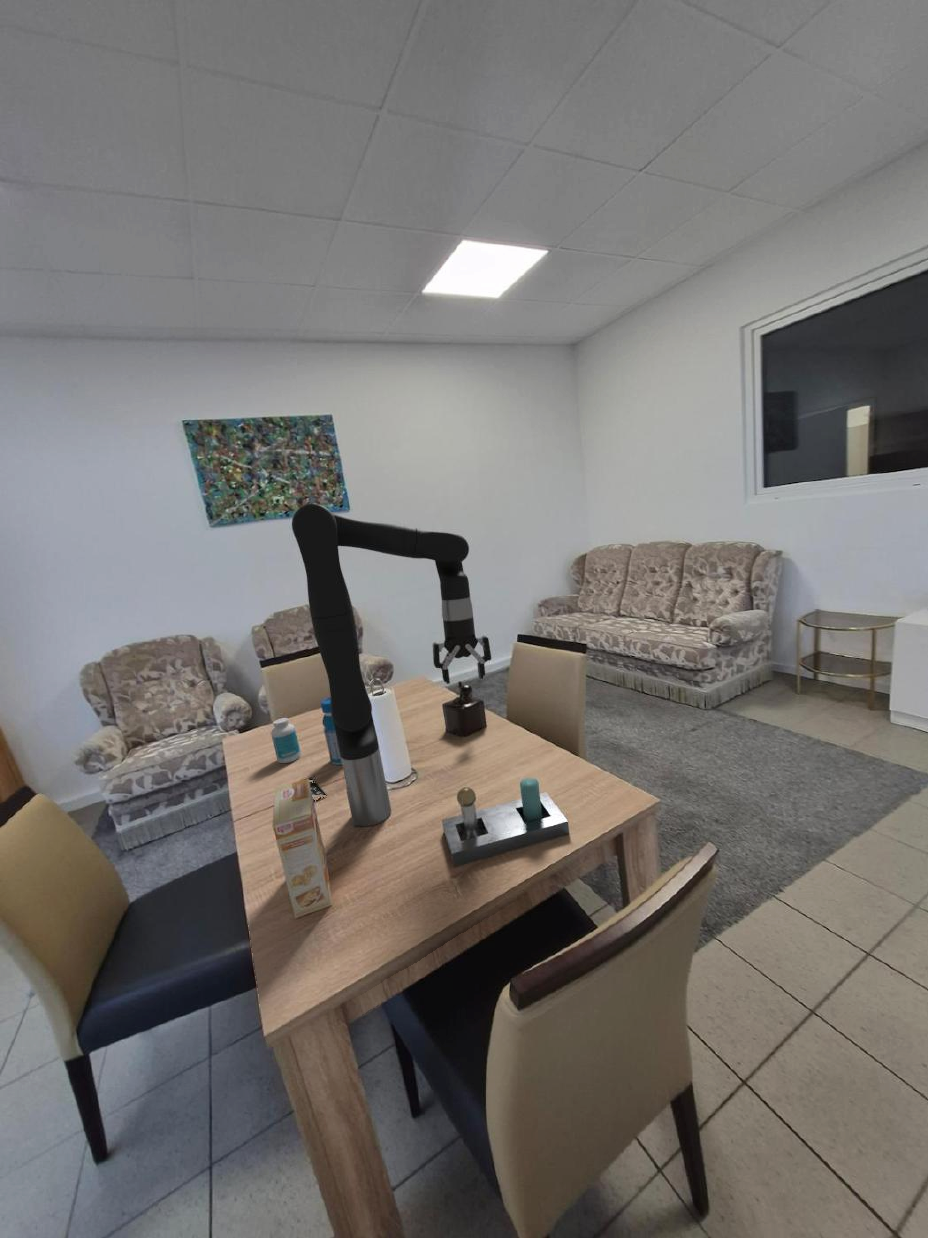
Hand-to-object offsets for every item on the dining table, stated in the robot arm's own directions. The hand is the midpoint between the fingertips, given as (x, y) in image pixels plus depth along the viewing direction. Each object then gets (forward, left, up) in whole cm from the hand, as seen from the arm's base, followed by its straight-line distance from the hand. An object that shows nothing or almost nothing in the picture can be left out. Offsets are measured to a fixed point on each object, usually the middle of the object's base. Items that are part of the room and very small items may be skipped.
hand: (464, 680), depth 119 cm
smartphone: (-46, +18, -29) cm, 58 cm away
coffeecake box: (-41, -22, -29) cm, 55 cm away
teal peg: (+7, -22, -29) cm, 36 cm away
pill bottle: (-54, +44, -29) cm, 76 cm away
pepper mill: (+5, +34, -29) cm, 45 cm away
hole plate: (0, -22, -29) cm, 36 cm away
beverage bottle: (-36, +34, -29) cm, 58 cm away
